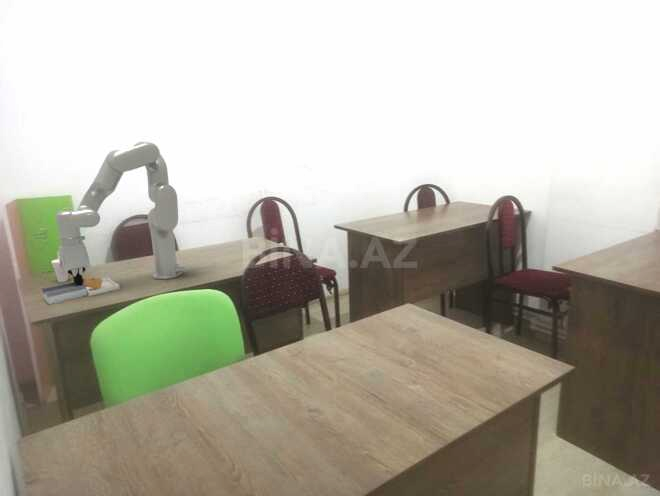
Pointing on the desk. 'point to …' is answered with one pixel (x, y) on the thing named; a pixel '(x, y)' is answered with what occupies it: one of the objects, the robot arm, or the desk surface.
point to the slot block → (63, 292)
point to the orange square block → (97, 283)
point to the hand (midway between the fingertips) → (78, 284)
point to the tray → (103, 287)
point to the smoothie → (59, 270)
